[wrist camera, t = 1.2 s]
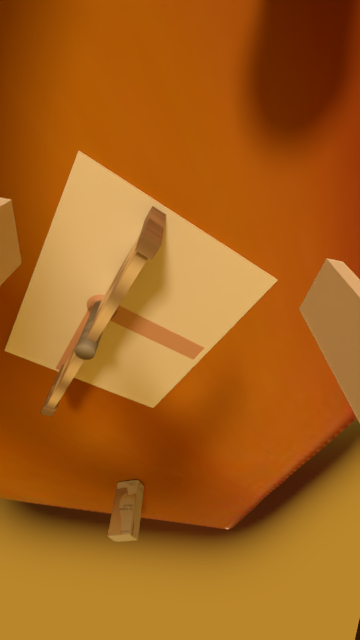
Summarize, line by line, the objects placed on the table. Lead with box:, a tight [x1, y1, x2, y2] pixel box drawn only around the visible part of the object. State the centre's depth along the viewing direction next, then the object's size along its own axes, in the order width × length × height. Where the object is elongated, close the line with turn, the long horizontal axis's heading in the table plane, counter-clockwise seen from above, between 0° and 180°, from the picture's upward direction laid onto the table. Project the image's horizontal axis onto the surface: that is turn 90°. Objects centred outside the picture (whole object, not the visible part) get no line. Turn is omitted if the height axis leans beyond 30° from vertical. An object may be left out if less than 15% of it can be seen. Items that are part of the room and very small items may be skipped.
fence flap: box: [87, 206, 166, 342], centre depth 34 cm, size 15×2×9 cm, turn 147°
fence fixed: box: [40, 301, 103, 417], centre depth 43 cm, size 18×2×9 cm, turn 147°
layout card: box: [4, 151, 278, 408], centre depth 44 cm, size 28×34×1 cm
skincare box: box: [108, 480, 144, 542], centre depth 74 cm, size 6×4×12 cm
